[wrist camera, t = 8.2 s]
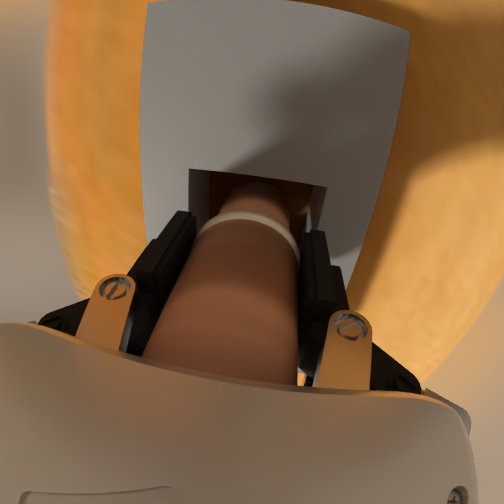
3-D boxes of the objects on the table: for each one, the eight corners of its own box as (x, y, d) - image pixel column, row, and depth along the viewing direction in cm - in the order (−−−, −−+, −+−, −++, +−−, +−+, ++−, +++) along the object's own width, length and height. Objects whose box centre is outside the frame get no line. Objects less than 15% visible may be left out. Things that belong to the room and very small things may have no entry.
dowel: (217, 169, 13) (73, 409, 4) (304, 181, 13) (325, 464, 3) (214, 241, 16) (132, 463, 6) (289, 253, 16) (277, 492, 6)
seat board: (182, 18, 10) (148, 3, 7) (380, 42, 10) (411, 31, 7) (180, 310, 22) (164, 350, 18) (307, 330, 21) (308, 373, 18)
